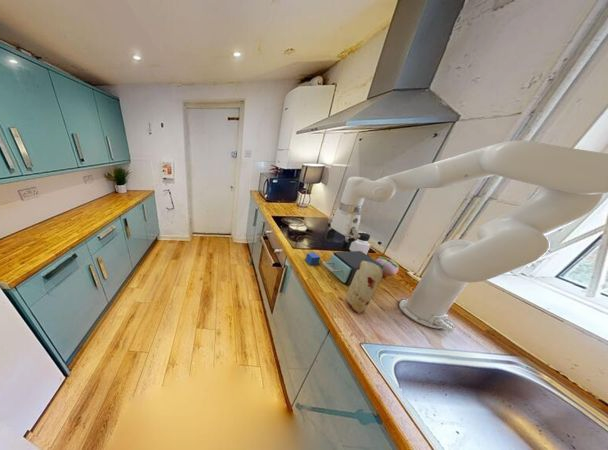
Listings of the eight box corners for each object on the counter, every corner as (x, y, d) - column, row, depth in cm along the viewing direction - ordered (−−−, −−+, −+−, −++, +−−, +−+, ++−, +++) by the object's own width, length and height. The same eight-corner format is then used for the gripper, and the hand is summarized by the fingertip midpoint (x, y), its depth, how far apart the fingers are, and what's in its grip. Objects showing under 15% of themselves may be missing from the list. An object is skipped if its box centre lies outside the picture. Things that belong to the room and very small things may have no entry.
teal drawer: (332, 283, 89) (337, 269, 85) (316, 268, 99) (320, 255, 96) (369, 281, 91) (376, 267, 88) (350, 266, 101) (356, 253, 98)
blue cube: (318, 264, 103) (320, 257, 102) (310, 264, 103) (312, 257, 101) (313, 259, 108) (315, 252, 106) (305, 259, 107) (307, 252, 105)
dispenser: (347, 285, 89) (354, 267, 85) (328, 268, 101) (334, 252, 97) (375, 283, 91) (383, 266, 87) (354, 266, 103) (360, 251, 99)
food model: (340, 296, 83) (356, 256, 75) (357, 298, 82) (376, 258, 74) (350, 314, 74) (369, 272, 66) (370, 318, 73) (392, 275, 65)
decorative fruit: (397, 277, 95) (406, 260, 91) (389, 283, 91) (398, 265, 87) (374, 267, 103) (382, 250, 98) (366, 271, 99) (374, 254, 95)
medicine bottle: (366, 255, 113) (374, 237, 108) (352, 253, 114) (360, 235, 109) (360, 249, 119) (367, 231, 114) (347, 247, 120) (354, 230, 115)
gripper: (376, 215, 74) (360, 253, 81) (342, 201, 89) (331, 234, 97) (358, 215, 73) (343, 254, 80) (327, 201, 89) (317, 234, 96)
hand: (337, 243), depth 88 cm, fingers open, 9 cm apart
